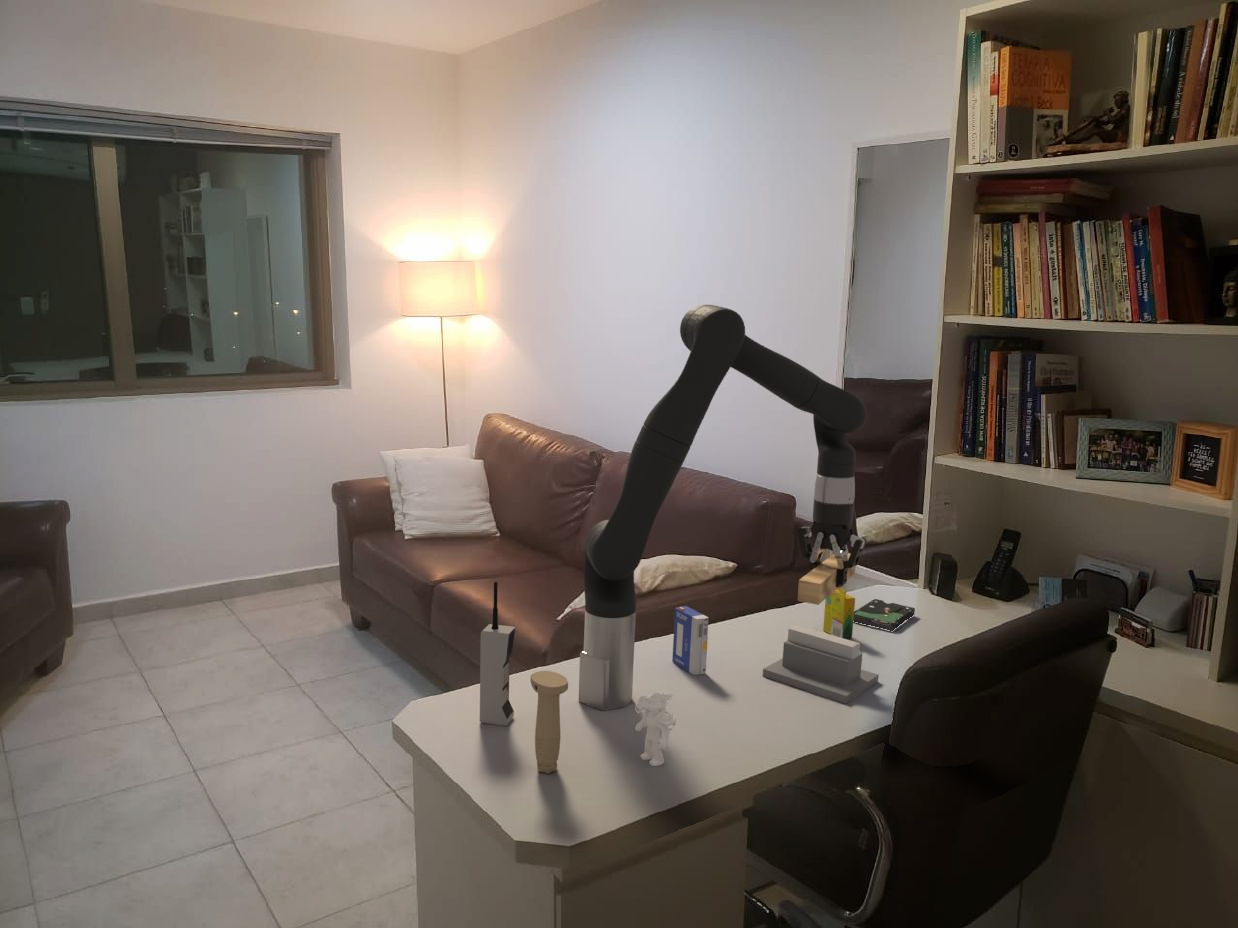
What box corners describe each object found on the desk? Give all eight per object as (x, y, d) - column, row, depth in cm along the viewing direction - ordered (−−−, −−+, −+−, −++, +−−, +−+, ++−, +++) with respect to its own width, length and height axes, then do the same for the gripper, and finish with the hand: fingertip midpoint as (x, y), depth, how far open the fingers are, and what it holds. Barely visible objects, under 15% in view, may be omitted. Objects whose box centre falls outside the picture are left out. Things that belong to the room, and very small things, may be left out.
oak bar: (836, 569, 191) (837, 551, 191) (855, 572, 189) (856, 554, 189) (797, 600, 171) (798, 580, 170) (818, 604, 169) (820, 583, 168)
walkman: (672, 661, 189) (674, 605, 187) (683, 659, 191) (686, 603, 188) (694, 675, 182) (697, 618, 180) (706, 673, 184) (709, 615, 182)
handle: (547, 756, 148) (550, 668, 146) (571, 772, 144) (574, 682, 141) (522, 765, 145) (524, 675, 143) (545, 782, 141) (548, 689, 138)
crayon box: (852, 640, 205) (856, 590, 203) (841, 641, 204) (845, 591, 202) (833, 629, 212) (837, 580, 210) (822, 630, 211) (826, 581, 209)
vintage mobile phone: (507, 726, 158) (509, 586, 154) (479, 723, 159) (481, 583, 155) (514, 717, 162) (516, 580, 157) (486, 713, 163) (488, 577, 158)
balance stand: (845, 703, 172) (849, 657, 171) (762, 675, 184) (765, 632, 182) (878, 681, 183) (882, 638, 181) (797, 656, 194) (800, 615, 193)
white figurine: (678, 768, 146) (682, 697, 144) (658, 774, 144) (662, 702, 142) (646, 744, 154) (649, 676, 151) (626, 750, 151) (629, 681, 149)
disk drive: (873, 609, 229) (849, 623, 217) (874, 598, 229) (850, 612, 217) (914, 618, 223) (893, 634, 211) (915, 607, 223) (894, 622, 211)
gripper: (791, 494, 179) (785, 579, 182) (859, 507, 169) (852, 596, 173) (810, 489, 184) (804, 571, 187) (877, 501, 175) (870, 587, 178)
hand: (827, 583), depth 180 cm, fingers closed on oak bar, 4 cm apart
